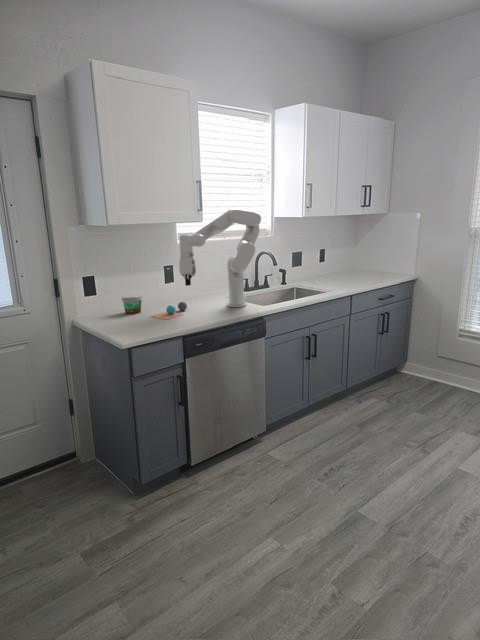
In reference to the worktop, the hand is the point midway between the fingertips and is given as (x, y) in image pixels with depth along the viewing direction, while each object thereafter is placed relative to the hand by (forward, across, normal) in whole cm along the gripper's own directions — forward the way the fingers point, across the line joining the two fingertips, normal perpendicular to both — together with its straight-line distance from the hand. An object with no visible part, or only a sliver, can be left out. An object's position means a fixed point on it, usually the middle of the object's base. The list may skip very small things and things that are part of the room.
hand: (188, 285), depth 266 cm
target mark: (+15, 0, +20) cm, 25 cm away
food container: (+15, +22, +27) cm, 38 cm away
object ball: (+12, 0, +16) cm, 20 cm away
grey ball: (+12, 0, +6) cm, 14 cm away
